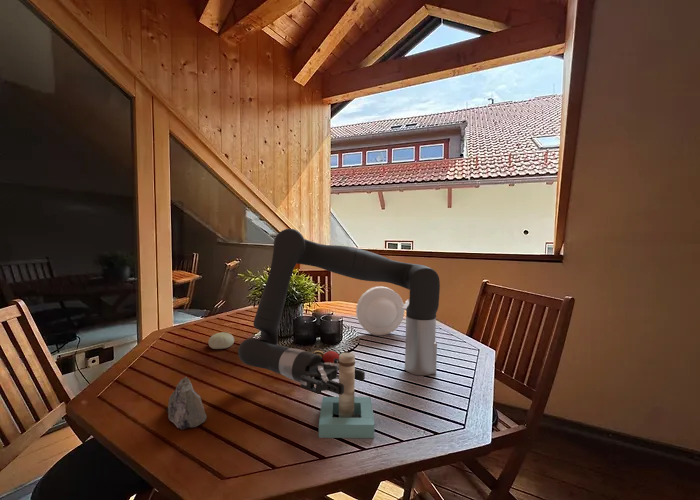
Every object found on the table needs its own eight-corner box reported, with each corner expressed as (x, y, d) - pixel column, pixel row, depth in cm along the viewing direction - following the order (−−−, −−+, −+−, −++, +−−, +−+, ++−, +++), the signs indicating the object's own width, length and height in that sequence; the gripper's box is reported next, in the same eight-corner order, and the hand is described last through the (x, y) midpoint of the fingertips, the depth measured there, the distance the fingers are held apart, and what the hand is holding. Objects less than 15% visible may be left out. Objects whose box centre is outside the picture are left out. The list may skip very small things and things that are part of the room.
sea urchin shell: (241, 338, 136) (230, 327, 130) (230, 357, 131) (219, 347, 125) (222, 335, 139) (211, 324, 134) (212, 353, 135) (200, 343, 129)
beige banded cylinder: (351, 416, 85) (352, 351, 84) (356, 425, 82) (357, 357, 81) (336, 419, 84) (337, 353, 83) (341, 427, 81) (341, 359, 79)
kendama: (282, 380, 108) (341, 372, 108) (280, 359, 108) (338, 351, 109) (286, 374, 115) (341, 366, 116) (284, 354, 116) (339, 346, 117)
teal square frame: (370, 408, 89) (371, 397, 89) (374, 438, 77) (374, 424, 77) (322, 408, 89) (322, 396, 89) (318, 437, 77) (318, 424, 77)
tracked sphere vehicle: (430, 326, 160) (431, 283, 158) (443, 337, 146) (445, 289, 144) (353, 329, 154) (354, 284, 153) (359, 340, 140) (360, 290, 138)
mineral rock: (174, 402, 91) (173, 364, 90) (218, 401, 92) (217, 363, 91) (152, 432, 78) (150, 388, 78) (203, 430, 79) (202, 386, 79)
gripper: (280, 360, 84) (335, 377, 75) (319, 343, 96) (370, 357, 87) (280, 390, 85) (335, 412, 76) (319, 370, 97) (370, 387, 87)
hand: (354, 382), depth 81 cm, fingers open, 8 cm apart
